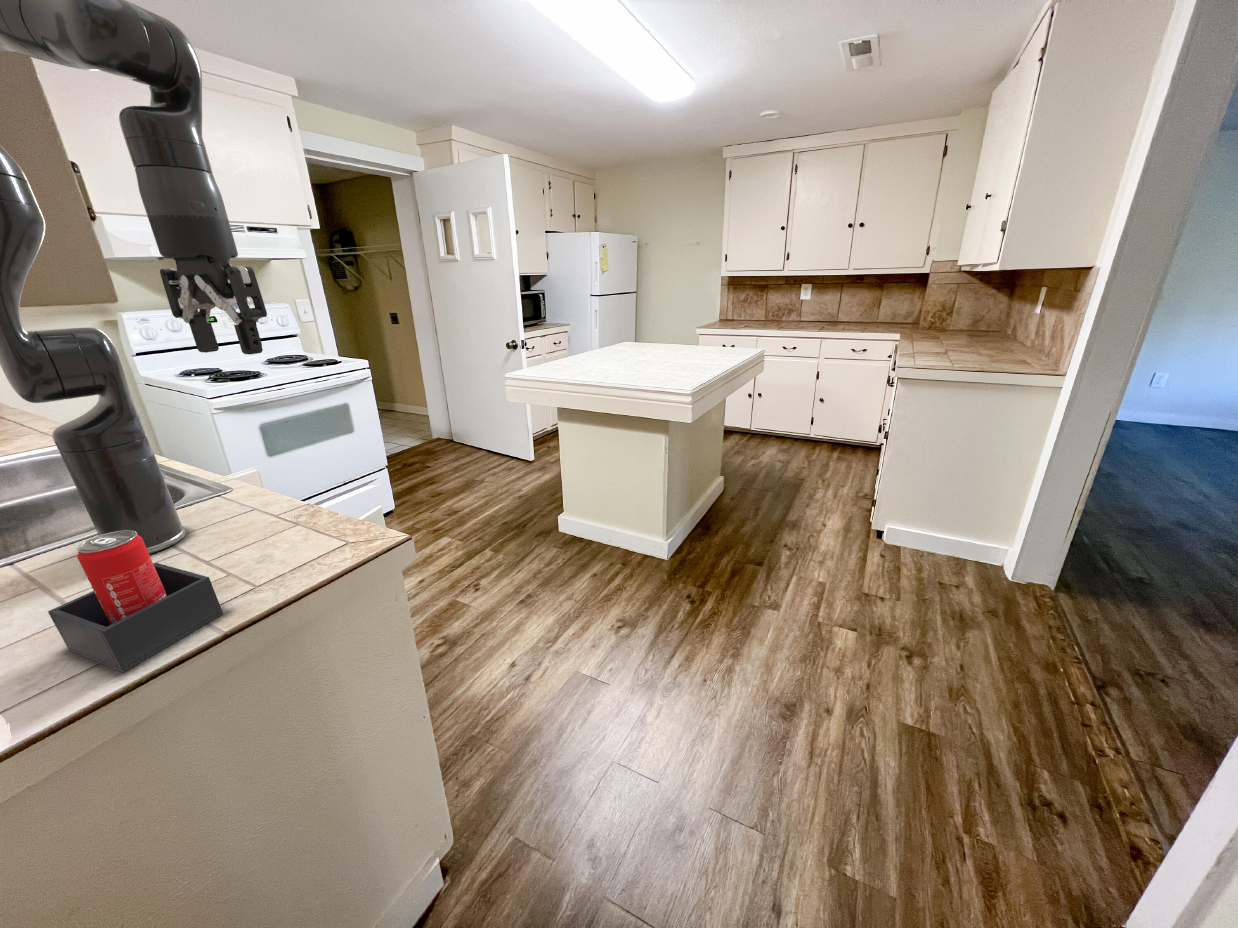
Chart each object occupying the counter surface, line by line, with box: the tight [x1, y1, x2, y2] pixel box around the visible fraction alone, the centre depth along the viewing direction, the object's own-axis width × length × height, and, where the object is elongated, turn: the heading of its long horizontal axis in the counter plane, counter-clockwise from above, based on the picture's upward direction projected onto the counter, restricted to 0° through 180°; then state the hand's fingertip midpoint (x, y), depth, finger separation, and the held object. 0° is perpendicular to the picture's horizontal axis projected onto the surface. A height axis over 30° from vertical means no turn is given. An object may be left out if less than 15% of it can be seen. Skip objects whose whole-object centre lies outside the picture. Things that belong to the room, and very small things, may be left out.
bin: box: [47, 562, 224, 674], centre depth 57 cm, size 10×10×6 cm
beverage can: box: [76, 530, 167, 625], centre depth 56 cm, size 5×5×12 cm
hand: (230, 352), depth 64 cm, fingers open, 8 cm apart
